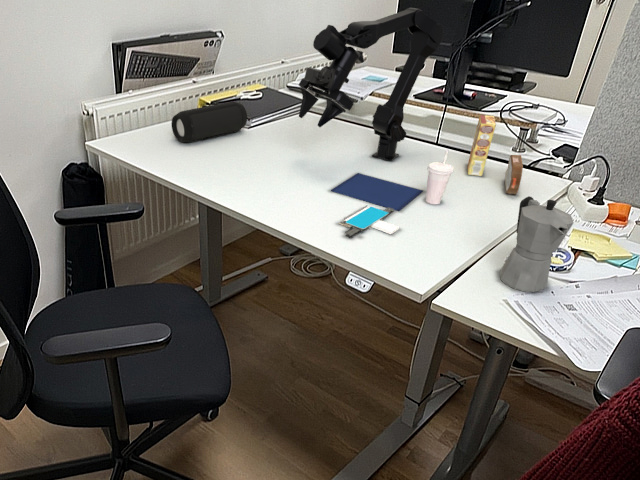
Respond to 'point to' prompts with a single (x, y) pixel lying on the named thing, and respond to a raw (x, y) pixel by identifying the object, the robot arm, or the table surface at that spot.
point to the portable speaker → (209, 121)
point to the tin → (513, 174)
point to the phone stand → (368, 221)
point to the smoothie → (437, 180)
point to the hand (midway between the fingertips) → (309, 121)
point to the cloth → (377, 191)
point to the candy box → (481, 145)
